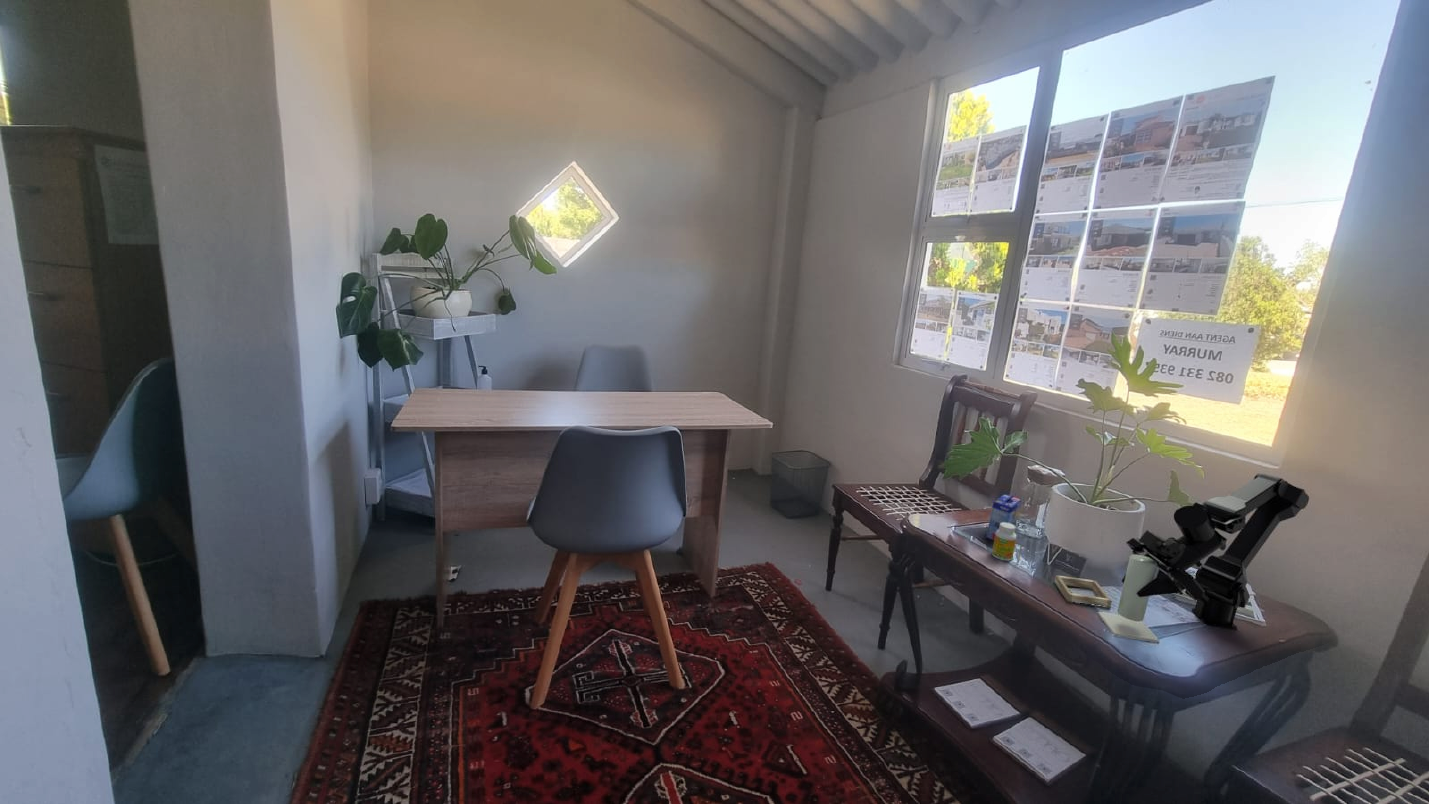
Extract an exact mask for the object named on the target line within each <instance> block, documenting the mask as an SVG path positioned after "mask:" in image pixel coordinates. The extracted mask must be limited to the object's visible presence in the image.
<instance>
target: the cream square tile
mask: <svg viewBox="0 0 1429 804" xmlns="http://www.w3.org/2000/svg"><path fill="white" fill-rule="evenodd" d="M1097 613H1098V614H1097V615H1098V616H1099V618H1100V619H1101V620H1102V622H1103V621H1104V622H1103V623H1104V625H1106V627H1107V629H1108V630H1109V629H1110V630H1109V632H1110V633H1111V634H1112V635H1113V637H1118V636H1120V637H1119V638H1125V639H1132V640H1136V641H1137V640H1139V641H1143V642H1150V643H1151V642H1152V643H1156V644H1157V643H1158V644H1159V642H1160V639H1159V638H1158V637H1157V636H1156V635H1155V634H1154V632H1152V630H1151V629H1150V627H1148V625H1146V623H1145V622H1144V620H1143V621H1132V620H1129V619H1126V618H1124V617H1123V616H1121V615H1120V614H1119V613H1118V614H1117V613H1112V612H1103V611H1097Z"/></svg>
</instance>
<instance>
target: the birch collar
mask: <svg viewBox="0 0 1429 804" xmlns="http://www.w3.org/2000/svg"><path fill="white" fill-rule="evenodd" d="M1053 582H1054V584H1055V586H1056V587H1057V588H1058V589H1059V591H1060V592H1061V594H1062V596H1064V599H1066V601H1067V602H1068V603H1073V602H1075V604H1080V603H1086V604H1085V605H1087V604H1094V605H1101V606H1105V607H1104V608H1107V607H1110V608H1109V609H1111V606H1112V603H1113V600H1112V598H1111V597H1110V596H1109V595H1108V594H1107V593H1106V591H1105V590H1104V589H1103V588H1102V586H1101V585H1100V584H1099V583H1098V581H1097V580H1093V579H1087V578H1086V579H1085V578H1078V577H1073V576H1072V577H1071V576H1064V575H1055V577H1054V581H1053ZM1068 586H1070V587H1076V588H1084V589H1091V590H1092V591H1093V592H1094V593H1095V594H1096V596H1093V595H1085V594H1079V593H1073V592H1072V591H1071V590H1070V589H1069V587H1068ZM1097 595H1098V596H1097ZM1094 605H1093V606H1094Z"/></svg>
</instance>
